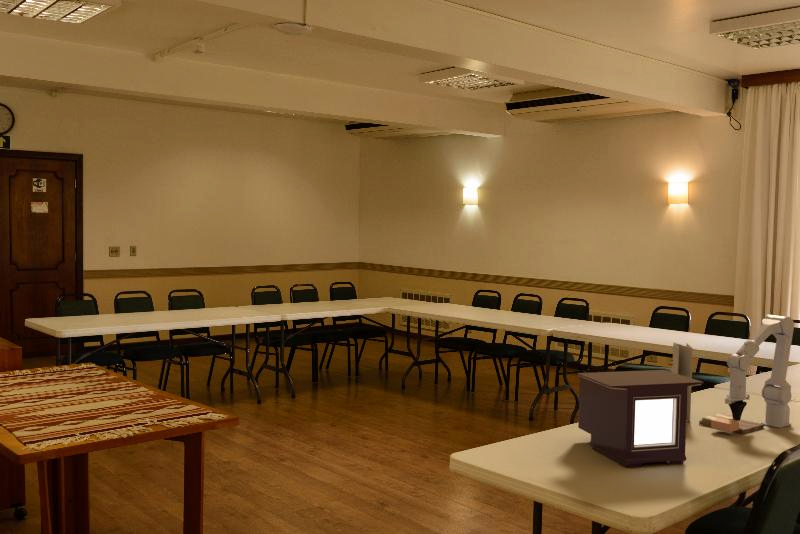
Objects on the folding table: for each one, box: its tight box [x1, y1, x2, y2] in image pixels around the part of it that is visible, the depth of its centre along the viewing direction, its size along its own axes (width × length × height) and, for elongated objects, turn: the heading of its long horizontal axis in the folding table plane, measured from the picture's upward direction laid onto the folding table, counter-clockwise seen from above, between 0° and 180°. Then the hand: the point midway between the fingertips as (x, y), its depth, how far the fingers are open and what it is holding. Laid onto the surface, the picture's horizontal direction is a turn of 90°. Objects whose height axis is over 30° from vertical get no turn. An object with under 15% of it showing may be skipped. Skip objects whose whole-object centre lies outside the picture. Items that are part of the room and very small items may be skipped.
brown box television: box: [576, 369, 705, 469], centre depth 273 cm, size 35×35×27 cm
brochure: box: [671, 342, 694, 423], centre depth 323 cm, size 14×6×30 cm, turn 168°
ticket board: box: [698, 412, 765, 435], centre depth 311 cm, size 16×18×3 cm
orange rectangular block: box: [710, 418, 739, 433], centre depth 300 cm, size 6×8×3 cm
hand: (736, 419), depth 305 cm, fingers closed
